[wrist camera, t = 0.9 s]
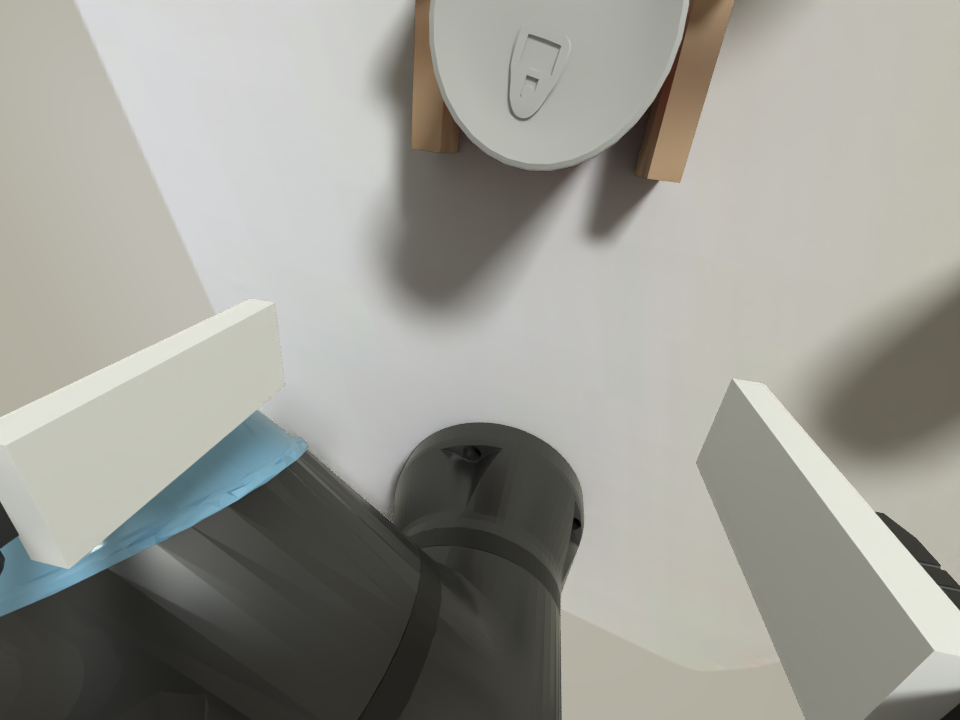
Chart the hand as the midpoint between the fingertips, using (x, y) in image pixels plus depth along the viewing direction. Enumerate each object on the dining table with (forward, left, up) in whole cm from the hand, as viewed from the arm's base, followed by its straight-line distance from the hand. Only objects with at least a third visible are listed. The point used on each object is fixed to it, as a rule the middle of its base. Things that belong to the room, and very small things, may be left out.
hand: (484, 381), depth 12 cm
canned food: (+8, +5, -17) cm, 19 cm away
